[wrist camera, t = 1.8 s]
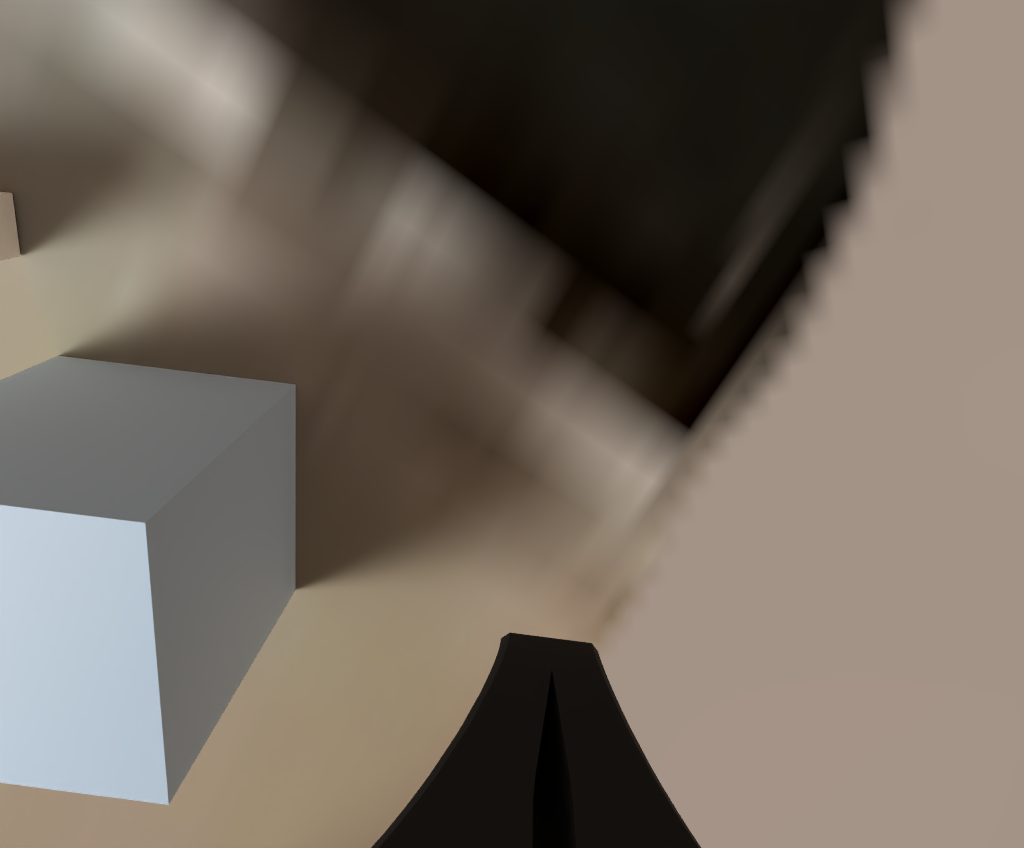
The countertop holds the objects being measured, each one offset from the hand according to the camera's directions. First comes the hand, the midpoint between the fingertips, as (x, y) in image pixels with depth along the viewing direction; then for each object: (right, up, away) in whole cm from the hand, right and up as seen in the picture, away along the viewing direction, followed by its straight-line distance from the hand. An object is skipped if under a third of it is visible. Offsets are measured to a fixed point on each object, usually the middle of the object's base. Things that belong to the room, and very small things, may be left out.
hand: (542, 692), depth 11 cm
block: (-8, +3, +5) cm, 10 cm away
